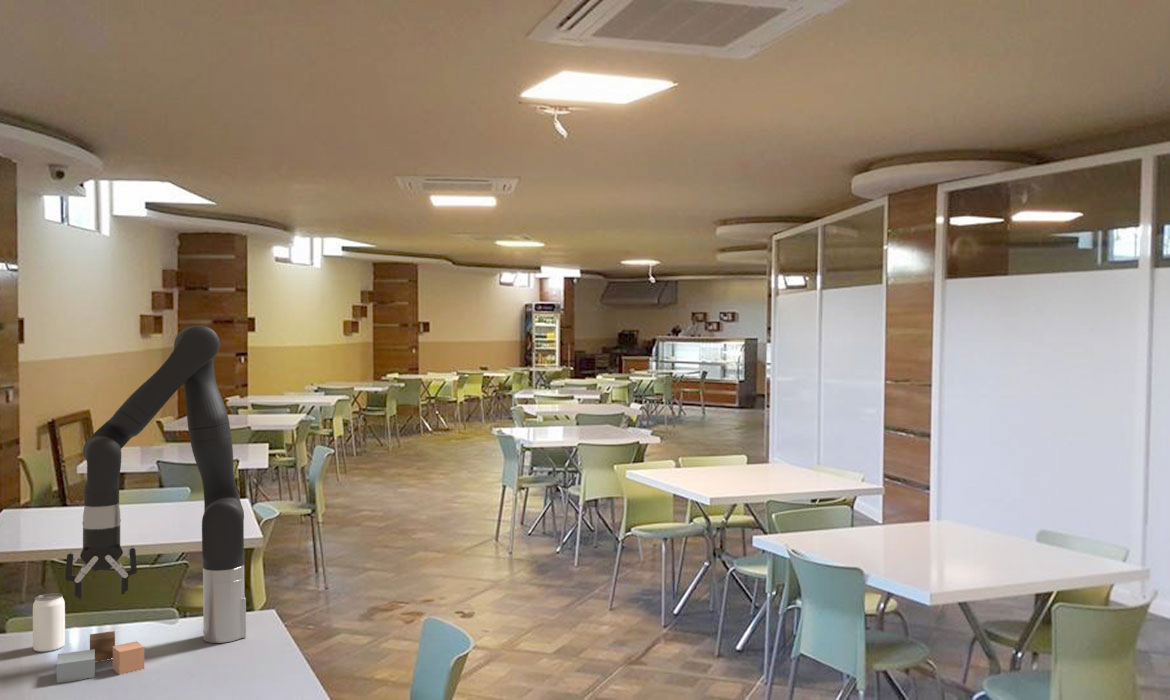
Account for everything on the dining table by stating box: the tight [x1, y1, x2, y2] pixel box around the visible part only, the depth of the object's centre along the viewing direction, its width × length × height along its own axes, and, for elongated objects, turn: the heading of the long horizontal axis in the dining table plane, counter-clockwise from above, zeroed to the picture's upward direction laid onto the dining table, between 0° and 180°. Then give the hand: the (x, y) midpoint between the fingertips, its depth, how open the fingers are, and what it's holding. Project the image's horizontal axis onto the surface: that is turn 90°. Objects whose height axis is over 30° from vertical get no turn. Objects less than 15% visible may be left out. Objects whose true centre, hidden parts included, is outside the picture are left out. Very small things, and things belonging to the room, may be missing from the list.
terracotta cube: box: [112, 640, 145, 675], centre depth 203 cm, size 5×5×5 cm
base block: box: [56, 649, 96, 684], centre depth 199 cm, size 7×7×4 cm
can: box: [32, 592, 66, 653], centre depth 216 cm, size 6×6×12 cm
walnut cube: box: [89, 630, 116, 662], centre depth 210 cm, size 5×5×5 cm
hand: (101, 596), depth 210 cm, fingers open, 8 cm apart
